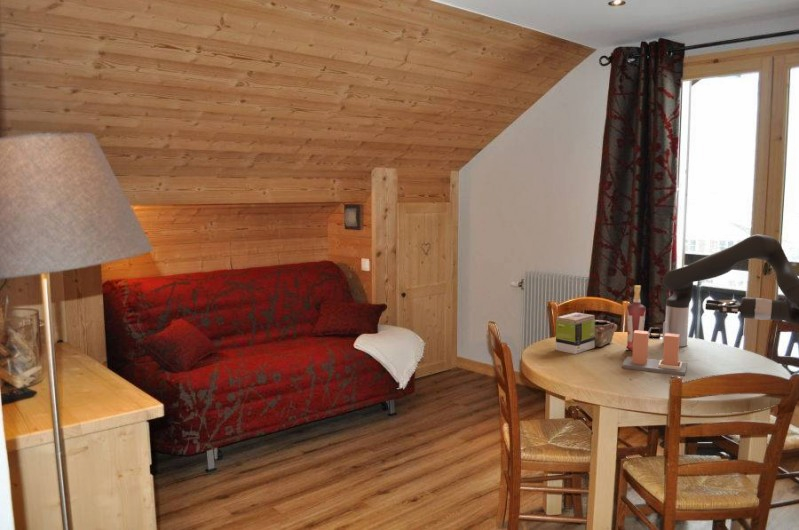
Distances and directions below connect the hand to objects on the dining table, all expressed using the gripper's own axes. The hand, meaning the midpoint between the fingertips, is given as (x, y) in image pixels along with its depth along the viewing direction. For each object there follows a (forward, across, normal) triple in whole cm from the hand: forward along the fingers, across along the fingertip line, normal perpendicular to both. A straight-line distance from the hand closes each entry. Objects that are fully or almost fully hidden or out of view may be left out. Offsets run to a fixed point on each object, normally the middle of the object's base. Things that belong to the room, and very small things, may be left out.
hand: (705, 304), depth 234 cm
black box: (+22, -53, +27) cm, 64 cm away
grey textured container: (+43, -30, +26) cm, 59 cm away
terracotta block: (+11, 0, +25) cm, 27 cm away
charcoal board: (+16, 0, +26) cm, 31 cm away
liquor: (+26, -22, +26) cm, 43 cm away
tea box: (+50, -14, +26) cm, 58 cm away
